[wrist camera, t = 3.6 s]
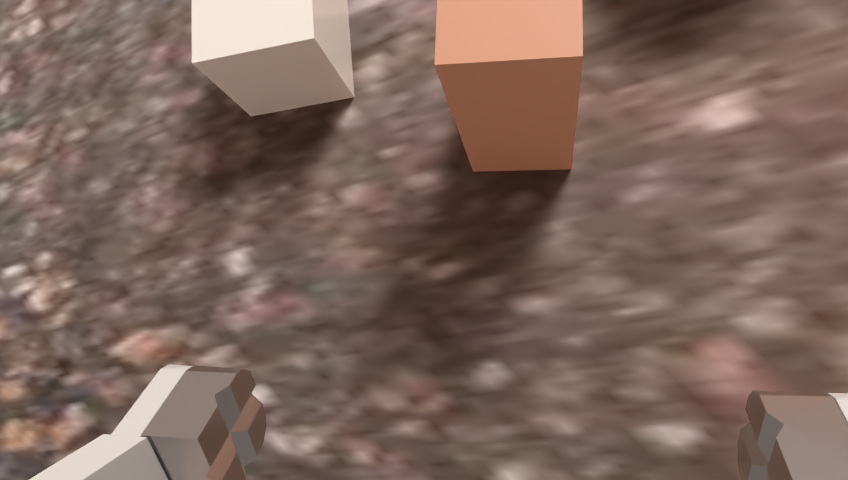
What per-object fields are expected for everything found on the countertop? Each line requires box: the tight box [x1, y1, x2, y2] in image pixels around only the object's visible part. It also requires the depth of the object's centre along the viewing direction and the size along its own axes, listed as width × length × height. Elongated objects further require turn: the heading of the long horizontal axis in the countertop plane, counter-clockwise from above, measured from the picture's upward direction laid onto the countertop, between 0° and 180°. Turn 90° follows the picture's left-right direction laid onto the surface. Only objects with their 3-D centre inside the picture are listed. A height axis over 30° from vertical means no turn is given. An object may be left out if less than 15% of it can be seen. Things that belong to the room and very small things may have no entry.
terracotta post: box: [435, 0, 583, 172], centre depth 21 cm, size 4×4×9 cm
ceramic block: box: [192, 0, 354, 116], centre depth 26 cm, size 5×5×5 cm
